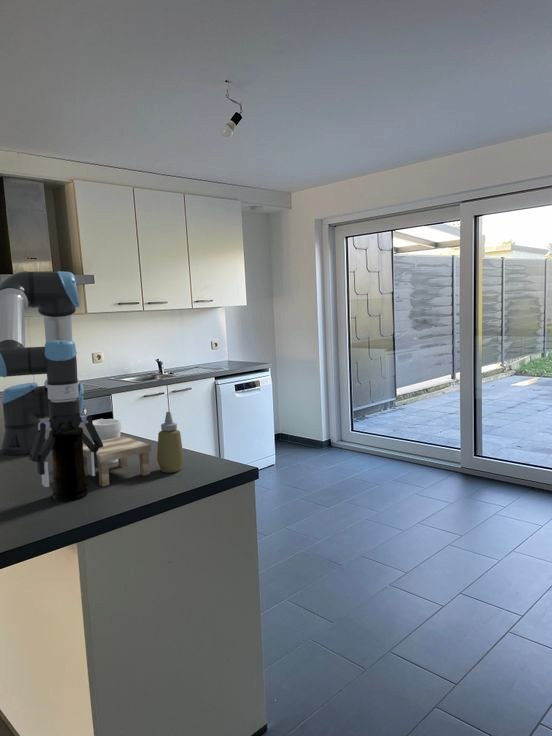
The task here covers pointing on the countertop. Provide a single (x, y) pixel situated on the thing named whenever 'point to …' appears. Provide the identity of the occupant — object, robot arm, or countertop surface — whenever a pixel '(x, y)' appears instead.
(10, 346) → the robot arm
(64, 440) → the container
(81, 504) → the countertop surface
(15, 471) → the countertop surface
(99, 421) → the foam cup
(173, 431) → the squeeze bottle
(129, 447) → the beige flat-topped legged fixture
